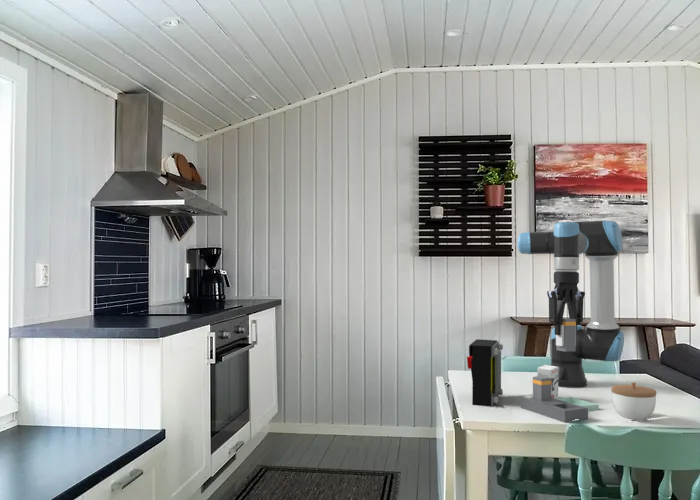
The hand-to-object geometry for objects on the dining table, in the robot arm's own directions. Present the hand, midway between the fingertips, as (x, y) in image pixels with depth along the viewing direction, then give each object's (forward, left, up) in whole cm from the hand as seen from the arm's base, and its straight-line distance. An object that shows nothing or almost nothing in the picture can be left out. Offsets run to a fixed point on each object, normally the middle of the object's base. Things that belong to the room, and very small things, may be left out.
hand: (565, 345), depth 188 cm
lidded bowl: (+10, +18, -22) cm, 30 cm away
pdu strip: (-2, -3, -22) cm, 22 cm away
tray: (-7, +9, -22) cm, 25 cm away
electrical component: (-27, -10, -22) cm, 37 cm away
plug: (0, 0, -2) cm, 2 cm away
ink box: (-19, +10, -22) cm, 31 cm away
